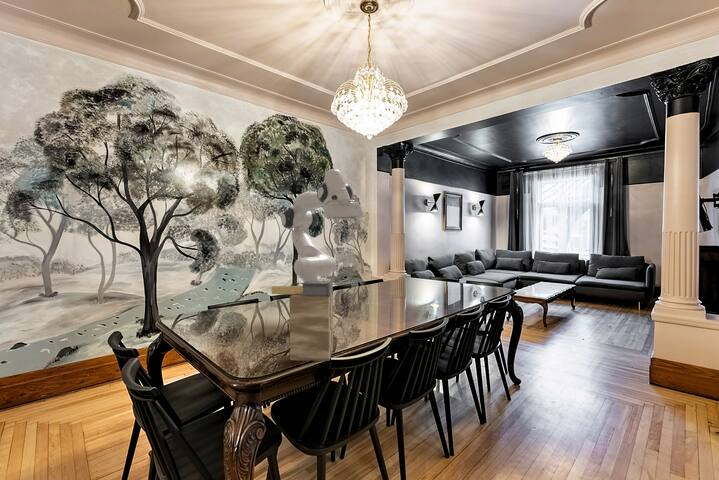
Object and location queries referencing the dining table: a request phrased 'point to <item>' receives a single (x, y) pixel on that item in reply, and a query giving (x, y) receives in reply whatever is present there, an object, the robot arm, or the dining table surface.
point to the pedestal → (311, 327)
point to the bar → (287, 290)
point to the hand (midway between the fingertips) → (348, 226)
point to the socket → (317, 288)
